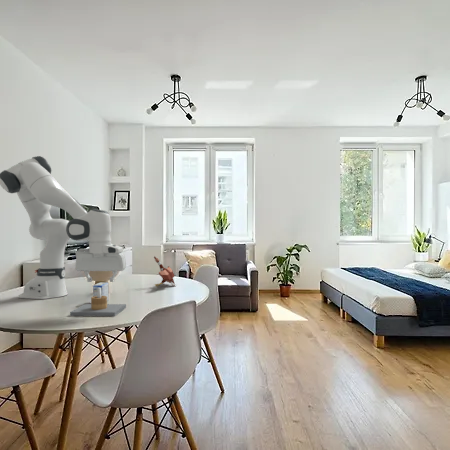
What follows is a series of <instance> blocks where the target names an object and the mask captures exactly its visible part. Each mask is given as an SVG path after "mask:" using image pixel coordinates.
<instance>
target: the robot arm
mask: <svg viewBox="0 0 450 450" xmlns="http://www.w3.org/2000/svg"><path fill="white" fill-rule="evenodd" d="M0 187H1V188H2V189H3V190H4V191H5V192H7V193H9V194H17V196H18V199H19V200H20V202H21V203H22V205H23V207H24V209H25V210H26V213H27V214H28V217H29V220H30V225H29V228H28V231H29V234H30V235H31V238H34V239H37V240H40V241H46V243H45V245H44V248H43V249H42V250H41V251H40V253H39V268H37V269H36V270H34V273H36V275H35V276H34V277H33V278H32V279H30V280H29V281H28V282H26V283H25V285H24V287H23V292H22V293H20V294H19V295H18V297H17V298H18V299H35V300H47V299H53V298H60V297H64V296H66V295H68V294H69V293H68V290H67V286H66V266H65V251H66V248H67V244H68V242H69V240H73V241H77V242H79V241H80V242H81V241H88V246H89V247H88V248H79V249H78V250H76V251H75V257H76V259H75V271H77V272H83V274H84V276H85V277H86V279H87V280H86V282H87V283H92V282H93V277H92V276H90V272H112V273H111V274H112V276H110V277H109V283H111V282H112V283H113V282H115V278H116V276H117V274H118V272H123V271H124V270H126V267H127V265H126V264H127V263H126V256H125V254H124V253H123V252H124V249H123V248H124V247H123V246H120V245H116V244H113V243H112V237H111V233H112V221H111V215H110V212H108V211H106V210H103V209H90V210H89V211H87V209H85V207H83V206H82V205H81V204H80V203H79V201H78V200H76V199H75V198H74V197H73V196H72V195H71V194H70V193H69V192H68V191H67V190H66V189H64V187H63V186H62V185H61V184H60V183H59V182H58V181H57V179H56V178H55V177H54V176H53V175H52V168H51V165H50V163H49V161H48V160H47V159H46V158H44V156H41V155H40V156H39V155H38V156H33V157H32V158H29V159H26V160H22V161H20V162H17V163H16V164H15V165H12V166H10V167H9V168H8V169H4V170H2V171H1V172H0ZM52 207H56V208H59V209H62V210H63V211H65V212H66V213H67V214H69V216H71V218H72V219H70V220H67V219H64V218H53V217H52V216H51V213H50V211H51V209H52Z"/></svg>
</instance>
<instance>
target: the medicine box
mask: <svg viewBox="0 0 450 450" xmlns="http://www.w3.org/2000/svg"><path fill="white" fill-rule="evenodd" d="M97 288H101V296H107V302H108V301H109V282H98V283H96V284H94V285H92V297H94V296H97Z"/></svg>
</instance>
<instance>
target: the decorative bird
mask: <svg viewBox="0 0 450 450" xmlns="http://www.w3.org/2000/svg"><path fill="white" fill-rule="evenodd" d="M153 258H154V261H155V262H156V263H157V265H158V266H159V270H160V271H158V274H159V277H161V279H162V280H161V282H159V283H156V284H154V286H156V287H158V286H160V285H164V284H165V283H166V282H167V283H169V284H170V285H171V286H173V287H176V286H175V285H176V284H175V281H174V278H175V273H174V271H173V270H172V268H171V267H170V265H169V266H167V268H166V267H164V265H163V264H162V262H161V261H160V259H159V258H157V257H156V256H154V257H153Z"/></svg>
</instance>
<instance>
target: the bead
mask: <svg viewBox="0 0 450 450" xmlns="http://www.w3.org/2000/svg"><path fill="white" fill-rule="evenodd" d="M90 299H91V300H90V302H91V303H90V304H91V309H93V310H101V309H106V308H107V304H108V301H107V296H101V298H97V296H94V297H93V296H92V297H91V298H90Z"/></svg>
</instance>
